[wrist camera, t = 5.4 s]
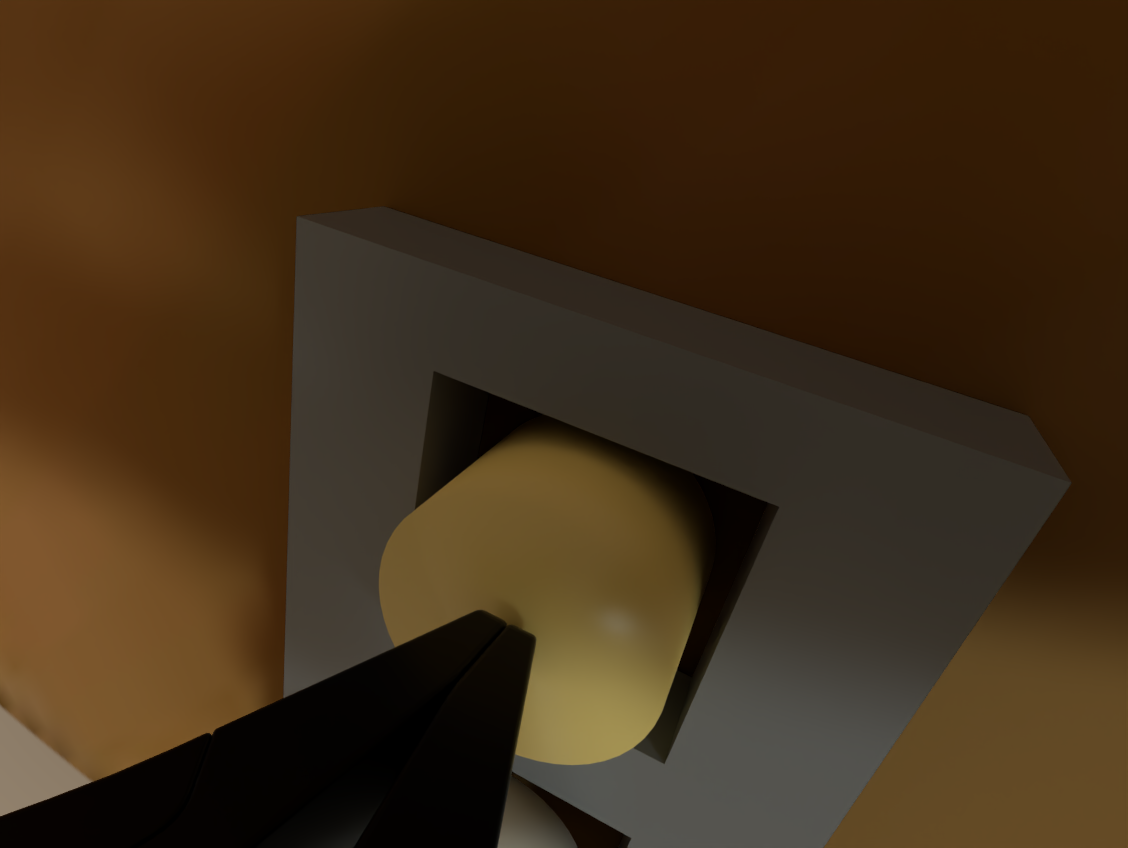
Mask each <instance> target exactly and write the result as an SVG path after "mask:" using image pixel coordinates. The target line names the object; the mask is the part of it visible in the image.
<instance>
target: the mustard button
mask: <svg viewBox="0 0 1128 848" xmlns="http://www.w3.org/2000/svg"><path fill="white" fill-rule="evenodd" d="M715 551H716V534H715V528H714V521H713V517H712V514H711V510H710V507H709V504H708V501H707V499H706V497H705V495H704V493H703V490H702V488H701V486H700V485H699V483H698V482H697V480H696V478H695V477H694V475H693V474H692V472H689V471H687V470H684V469H682V468H679V467H677V466H674V465H672V464H669V463H666V462H664V461H661V460H659V459H656V458H654V457H651V456H649V455H646V454H644V453H641V452H639V451H636V450H633V449H631V448H628V447H626V446H623V445H621V444H618V443H616V442H613V441H611V440H608V439H605V438H603V437H600V436H598V435H595V434H593V433H590V432H588V431H585V430H583V429H580V428H578V427H575V426H572V425H570V424H567V423H565V422H562V421H560V420H557V419H555V418H552V417H550V416H547V415H545V414H544V415H541V416H538V417H536V418H533V419H531V420H529V421H527V422H525V423H524V424H522V425H520V426H519V427H517V428H516V429H515V430H514V431H512V432H511V433H510V434H509V435H507V436H506V437H505V438H504V439H502V440H501V441H500V442H499V443H497V444H496V445H495V446H494V447H492V448H491V449H490V450H489V451H488V452H486V453H485V454H484V455H483V456H481V457H480V458H479V459H478V460H476V461H475V462H474V463H473V464H471V465H470V466H469V467H468V468H466V469H465V470H464V471H463V472H461V473H460V474H459V475H458V476H456V477H455V478H454V479H453V480H452V481H450V482H449V483H448V484H447V485H445V486H444V487H443V488H442V489H440V490H439V491H438V492H437V493H435V494H434V495H433V496H432V497H430V498H429V499H428V500H427V501H425V502H424V503H423V504H422V505H420V506H419V507H418V508H417V509H415V510H414V511H413V512H412V513H411V514H409V515H408V516H407V517H406V518H404V519H403V521H402V522H401V523H400V524H399V525H398V526H397V528H396V529H395V530H394V532H393V533H392V535H391V537H390V539H389V540H388V542H387V544H386V547H385V550H384V553H383V556H382V560H381V565H380V570H379V595H380V604H381V608H382V613H383V617H384V621H385V624H386V627H387V630H388V633H389V635H390V637H391V640H392V642H393V644H394V646H395V647H397V646H399V645H401V644H403V643H405V642H408V641H410V640H412V639H414V638H416V637H418V636H421V635H423V634H425V633H427V632H429V631H432V630H434V629H436V628H438V627H440V626H443V625H445V624H447V623H449V622H451V621H454V620H456V619H458V618H460V617H462V616H464V615H467V614H469V613H471V612H473V611H476V610H485V611H487V612H489V613H491V614H493V615H495V616H497V617H499V618H501V619H503V620H504V621H505V622H506V623H507V626H508V625H511V624H512V625H515V626H517V627H519V628H521V629H523V630H525V631H527V632H529V633H531V634H533V635H535V637H536V647H535V652H534V657H533V663H532V668H531V673H530V679H529V684H528V689H527V694H526V700H525V705H524V710H523V716H522V721H521V726H520V731H519V737H518V742H517V747H516V753H515V754H516V755H519V756H522V757H525V758H529V759H532V760H536V761H540V762H546V763H552V764H561V765H583V764H592V763H597V762H602V761H606V760H609V759H612V758H614V757H617V756H620V755H621V754H623V753H625V752H627V751H629V750H630V749H632V748H634V747H635V746H636V745H637V744H638V743H640V742H641V741H642V740H643V739H644V738H645V737H646V736H647V735H648V733H649V732H650V731H651V730H652V729H653V727H654V726H655V724H656V722H657V720H658V719H659V717H660V715H661V713H662V711H663V708H664V705H665V702H666V699H667V696H668V694H669V691H670V688H671V685H672V682H673V679H674V676H675V674H676V671H677V668H678V665H679V662H680V659H681V657H682V654H683V651H684V648H685V645H686V642H687V639H688V637H689V634H690V631H691V628H692V625H693V622H694V620H695V617H696V614H697V611H698V608H699V605H700V603H701V600H702V597H703V594H704V591H705V588H706V585H707V583H708V580H709V577H710V574H711V571H712V567H713V564H714V558H715Z"/></svg>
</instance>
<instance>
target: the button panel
mask: <svg viewBox="0 0 1128 848" xmlns="http://www.w3.org/2000/svg"><path fill="white" fill-rule="evenodd" d="M489 393H491V394H494V395H496V396H499V397H501V398H504V399H506V400H509V401H512V402H514V403H517V404H519V405H522V406H524V407H527V408H529V409H532V410H534V411H537V412H539V413H542V414H545V415H547V416H550V417H552V418H555V419H557V420H560V421H562V422H565V423H567V424H570V425H572V426H575V427H578V428H580V429H583V430H585V431H588V432H590V433H593V434H595V435H598V436H600V437H603V438H605V439H608V440H611V441H613V442H616V443H618V444H621V445H623V446H626V447H628V448H631V449H633V450H636V451H639V452H641V453H644V454H646V455H649V456H651V457H654V458H656V459H659V460H661V461H664V462H666V463H669V464H672V465H674V466H677V467H679V468H682V469H684V470H687V471H689V472H692V473H694V474H697V475H699V476H702V477H705V478H707V479H710V480H712V481H715V482H717V483H720V484H722V485H725V486H727V487H730V488H732V489H735V490H738V491H740V492H743V493H745V494H748V495H750V496H753V497H755V498H758V499H760V500H763V501H766V502H768V504H767V506H766V509H765V511H764V513H763V515H762V518H761V520H760V522H759V525H758V527H757V529H756V532H755V534H754V536H753V538H752V541H751V543H750V545H749V548H748V550H747V552H746V555H745V557H744V559H743V561H742V564H741V566H740V568H739V571H738V573H737V575H736V578H735V580H734V582H733V584H732V587H731V589H730V591H729V594H728V596H727V598H726V601H725V603H724V605H723V607H722V610H721V612H720V614H719V617H718V619H717V621H716V624H715V626H714V628H713V630H712V633H711V635H710V637H709V640H708V642H707V644H706V647H705V649H704V651H703V653H702V656H701V658H700V660H699V663H698V665H697V667H696V670H695V672H694V674H693V676H692V677H690V676H688V675H686V674H684V673H682V672H680V671H676V674H675V676H674V679H673V682H672V685H671V688H670V691H669V694H668V696H667V699H666V702H665V705H664V708H663V711H662V713H661V715H660V717H659V719H658V720H657V722H656V724H655V726H654V727H653V729H652V730H651V731H650V732H649V733H648V735H647V736H646V737H645V738H644V739H643V740H642V741H641V742H640V743H638V744H637V745H636V746H635V747H634V748H632V749H630V750H629V751H627V752H625V753H623V754H621V755H620V756H617V757H614V758H612V759H609V760H606V761H602V762H597V763H592V764H583V765H561V764H552V763H546V762H540V761H536V760H532V759H529V758H525V757H522V756H519V755H516V754H515V758H514V763H513V768H512V772H514V773H516V774H517V775H519V776H521V777H523V778H525V779H526V780H528V781H530V782H532V783H534V784H535V785H537V786H539V787H541V788H542V789H544V790H546V791H548V792H550V793H551V794H553V795H555V796H557V797H559V798H560V799H562V800H564V801H566V802H568V803H569V804H571V805H573V806H575V807H577V808H578V809H580V810H582V811H584V812H585V813H587V814H589V815H591V816H593V817H594V818H596V819H598V820H600V821H602V822H603V823H605V824H607V825H609V826H611V827H612V828H614V829H616V830H618V831H620V832H621V833H623V834H624V835H623V837H622V840H621V842H620V844H619V847H618V848H823V847H824V846H825V844H826V843H827V842H828V840H829V839H830V837H831V836H832V834H833V833H834V831H835V830H836V828H837V827H838V825H839V824H840V822H841V821H842V819H843V818H844V817H845V815H846V814H847V812H848V811H849V809H850V808H851V806H852V805H853V803H854V802H855V800H856V799H857V797H858V796H859V795H860V793H861V792H862V790H863V789H864V787H865V786H866V784H867V783H868V781H869V780H870V778H871V777H872V775H873V774H874V773H875V771H876V770H877V768H878V767H879V765H880V764H881V762H882V761H883V759H884V758H885V756H886V755H887V753H888V752H889V751H890V749H891V748H892V746H893V745H894V743H895V742H896V740H897V739H898V737H899V736H900V734H901V733H902V731H903V730H904V728H905V727H906V726H907V724H908V723H909V721H910V720H911V718H912V717H913V715H914V714H915V712H916V711H917V709H918V708H919V706H920V705H921V704H922V702H923V701H924V699H925V698H926V696H927V695H928V693H929V692H930V690H931V689H932V687H933V686H934V684H935V683H936V682H937V680H938V679H939V677H940V676H941V674H942V673H943V671H944V670H945V668H946V667H947V665H948V664H949V662H950V661H951V660H952V658H953V657H954V655H955V654H956V652H957V651H958V649H959V648H960V646H961V645H962V643H963V642H964V640H965V639H966V637H967V636H968V635H969V633H970V632H971V630H972V629H973V627H974V626H975V624H976V623H977V621H978V620H979V618H980V617H981V615H982V614H983V613H984V611H985V610H986V608H987V607H988V605H989V604H990V602H991V601H992V599H993V598H994V596H995V595H996V593H997V592H998V591H999V589H1000V588H1001V586H1002V585H1003V583H1004V582H1005V580H1006V579H1007V577H1008V576H1009V574H1010V573H1011V571H1012V570H1013V569H1014V567H1015V566H1016V564H1017V563H1018V561H1019V560H1020V558H1021V557H1022V555H1023V554H1024V552H1025V551H1026V549H1027V548H1028V546H1029V545H1030V544H1031V542H1032V541H1033V539H1034V538H1035V536H1036V535H1037V533H1038V532H1039V530H1040V529H1041V527H1042V526H1043V524H1044V523H1045V522H1046V520H1047V519H1048V517H1049V516H1050V514H1051V513H1052V511H1053V510H1054V508H1055V507H1056V505H1057V504H1058V502H1059V501H1060V500H1061V498H1062V497H1063V495H1064V494H1065V492H1066V491H1067V489H1068V488H1069V486H1070V485H1071V481H1070V479H1069V478H1068V476H1067V475H1066V473H1065V472H1064V470H1063V469H1062V467H1061V465H1060V464H1059V462H1058V461H1057V459H1056V458H1055V456H1054V455H1053V453H1052V452H1051V450H1050V448H1049V447H1048V445H1047V444H1046V442H1045V441H1044V439H1043V438H1042V436H1041V434H1040V433H1039V431H1038V430H1037V428H1036V427H1035V425H1034V424H1033V422H1032V420H1031V419H1030V417H1029V416H1027V415H1024V414H1021V413H1017V412H1014V411H1011V410H1008V409H1005V408H1002V407H999V406H996V405H993V404H990V403H987V402H984V401H981V400H978V399H974V398H971V397H968V396H965V395H962V394H959V393H956V392H953V391H950V390H947V389H944V388H941V387H938V386H934V385H931V384H928V383H925V382H922V381H919V380H916V379H913V378H910V377H907V376H904V375H901V374H898V373H895V372H891V371H888V370H885V369H882V368H879V367H876V366H873V365H870V364H867V363H864V362H861V361H858V360H855V359H852V358H848V357H845V356H842V355H839V354H836V353H833V352H830V351H827V350H824V349H821V348H818V347H815V346H812V345H808V344H805V343H802V342H799V341H796V340H793V339H790V338H787V337H784V336H781V335H778V334H775V333H772V332H769V331H765V330H762V329H759V328H756V327H753V326H750V325H747V324H744V323H741V322H738V321H735V320H732V319H729V318H725V317H722V316H719V315H716V314H713V313H710V312H707V311H704V310H701V309H698V308H695V307H692V306H689V305H686V304H682V303H679V302H676V301H673V300H670V299H667V298H664V297H661V296H658V295H655V294H652V293H649V292H646V291H642V290H639V289H636V288H633V287H630V286H627V285H624V284H621V283H618V282H615V281H612V280H609V279H606V278H603V277H599V276H596V275H593V274H590V273H587V272H584V271H581V270H578V269H575V268H572V267H569V266H566V265H563V264H559V263H556V262H553V261H550V260H547V259H544V258H541V257H538V256H535V255H532V254H529V253H526V252H523V251H520V250H516V249H513V248H510V247H507V246H504V245H501V244H498V243H495V242H492V241H489V240H486V239H483V238H480V237H477V236H473V235H470V234H467V233H464V232H461V231H458V230H455V229H452V228H449V227H446V226H443V225H440V224H437V223H433V222H430V221H427V220H424V219H421V218H418V217H415V216H412V215H409V214H406V213H403V212H400V211H397V210H394V209H390V208H387V207H384V206H383V207H374V208H365V209H356V210H347V211H339V212H330V213H321V214H312V215H303V216H297V224H296V260H295V297H294V333H293V369H292V405H291V441H290V477H289V513H288V549H287V585H286V622H285V658H284V694H283V698H285V697H287V696H289V695H291V694H294V693H296V692H298V691H300V690H302V689H305V688H307V687H309V686H311V685H313V684H316V683H318V682H320V681H322V680H324V679H327V678H329V677H331V676H333V675H335V674H337V673H340V672H342V671H344V670H346V669H348V668H351V667H353V666H355V665H357V664H359V663H362V662H364V661H366V660H368V659H370V658H373V657H375V656H377V655H379V654H381V653H383V652H386V651H388V650H390V649H392V648H394V647H395V646H394V644H393V642H392V640H391V637H390V635H389V633H388V630H387V627H386V624H385V621H384V617H383V613H382V608H381V604H380V595H379V570H380V565H381V560H382V556H383V553H384V550H385V547H386V544H387V542H388V540H389V539H390V537H391V535H392V533H393V532H394V530H395V529H396V528H397V526H398V525H399V524H400V523H401V522H402V521H403V519H404V518H406V517H407V516H408V515H409V514H411V513H412V512H413V511H414V510H415V509H417V508H418V507H419V506H420V505H422V504H423V503H424V502H425V501H427V500H428V499H429V498H430V497H432V496H433V495H434V494H435V493H437V492H438V491H439V490H440V489H442V488H443V487H444V486H445V485H447V484H448V483H449V482H450V481H452V480H453V479H454V478H455V477H456V476H458V475H459V474H460V473H461V472H463V471H464V470H465V469H466V468H468V467H469V466H470V465H471V464H473V463H474V462H475V461H476V460H477V457H478V452H479V446H480V440H481V435H482V429H483V424H484V418H485V413H486V407H487V402H488V396H489Z"/></svg>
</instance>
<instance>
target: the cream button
mask: <svg viewBox="0 0 1128 848" xmlns="http://www.w3.org/2000/svg"><path fill="white" fill-rule="evenodd" d="M498 848H578V847H577V845H576V843H575V841H574V839H573V837H572V836H571V834H570V832H569V831H568V829H567V828H566V826H565V825H564V823H563V822H562V820H561V819H560V818H559V817H558V816H557V814H556V813H555V812H554V811H553V810H552V809H551V808H550V807H549V806H548V805H547V804H546V803H545V802H544V801H543V800H542V799H541V798H540V797H539V796H538V795H537V794H536V793H534V792H533V791H532V790H531V789H530V788H528V787H527V786H526V785H524V784H523V783H522V782H520V781H519V780H517V779H516V778H514V777H513V776H511V779H510V784H509V790H508V795H507V800H506V805H505V811H504V816H503V821H502V827H501V832H500V837H499V842H498Z"/></svg>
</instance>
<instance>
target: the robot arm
mask: <svg viewBox="0 0 1128 848" xmlns="http://www.w3.org/2000/svg"><path fill="white" fill-rule="evenodd" d="M535 647H536V637H535V635H533V634H531V633H529V632H527V631H525V630H523V629H521V628H519V627H517V626H515V625H512V624H511V625H508V626H507V623H506V622H505V621H504V620H503V619H501V618H499V617H497V616H495V615H493V614H491V613H489V612H487V611H485V610H476V611H473V612H471V613H469V614H467V615H464V616H462V617H460V618H458V619H456V620H454V621H451V622H449V623H447V624H445V625H443V626H440V627H438V628H436V629H434V630H432V631H429V632H427V633H425V634H423V635H421V636H418V637H416V638H414V639H412V640H410V641H408V642H405V643H403V644H401V645H399V646H397V647H394V648H392V649H390V650H388V651H386V652H383V653H381V654H379V655H377V656H375V657H373V658H370V659H368V660H366V661H364V662H362V663H359V664H357V665H355V666H353V667H351V668H348V669H346V670H344V671H342V672H340V673H337V674H335V675H333V676H331V677H329V678H327V679H324V680H322V681H320V682H318V683H316V684H313V685H311V686H309V687H307V688H305V689H302V690H300V691H298V692H296V693H294V694H291V695H289V696H287V697H285V698H283V699H281V700H278V701H276V702H274V703H272V704H270V705H267V706H265V707H263V708H261V709H259V710H256V711H254V712H252V713H250V714H248V715H246V716H243V717H241V718H239V719H237V720H235V721H232V722H230V723H228V724H226V725H224V726H221V727H219V728H217V729H215V731H214V732H213V734H212V735H211V734H210V733H206V734H203V735H201V736H199V737H197V738H194V739H192V740H190V741H188V742H186V743H184V744H181V745H179V746H177V747H175V748H173V749H170V750H168V751H166V752H163V753H161V754H159V755H156V756H154V757H152V758H149V759H147V760H145V761H142V762H140V763H138V764H135V765H133V766H131V767H129V768H126V769H124V770H122V771H119V772H117V773H115V774H112V775H109V776H107V777H104V778H102V779H99V780H96V781H94V782H91V783H89V784H86V785H83V786H81V787H78V788H76V789H73V790H70V791H68V792H65V793H63V794H60V795H58V796H55V797H52V798H50V799H47V800H44V801H41V802H39V803H36V804H33V805H31V806H28V807H25V808H22V809H19V810H17V811H14V812H11V813H8V814H6V815H3V816H0V848H498V842H499V837H500V832H501V827H502V821H503V816H504V811H505V805H506V800H507V795H508V790H509V784H510V779H511V774H512V768H513V763H514V758H515V753H516V747H517V742H518V737H519V731H520V726H521V721H522V716H523V710H524V705H525V700H526V694H527V689H528V684H529V679H530V673H531V668H532V663H533V657H534V652H535Z"/></svg>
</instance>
